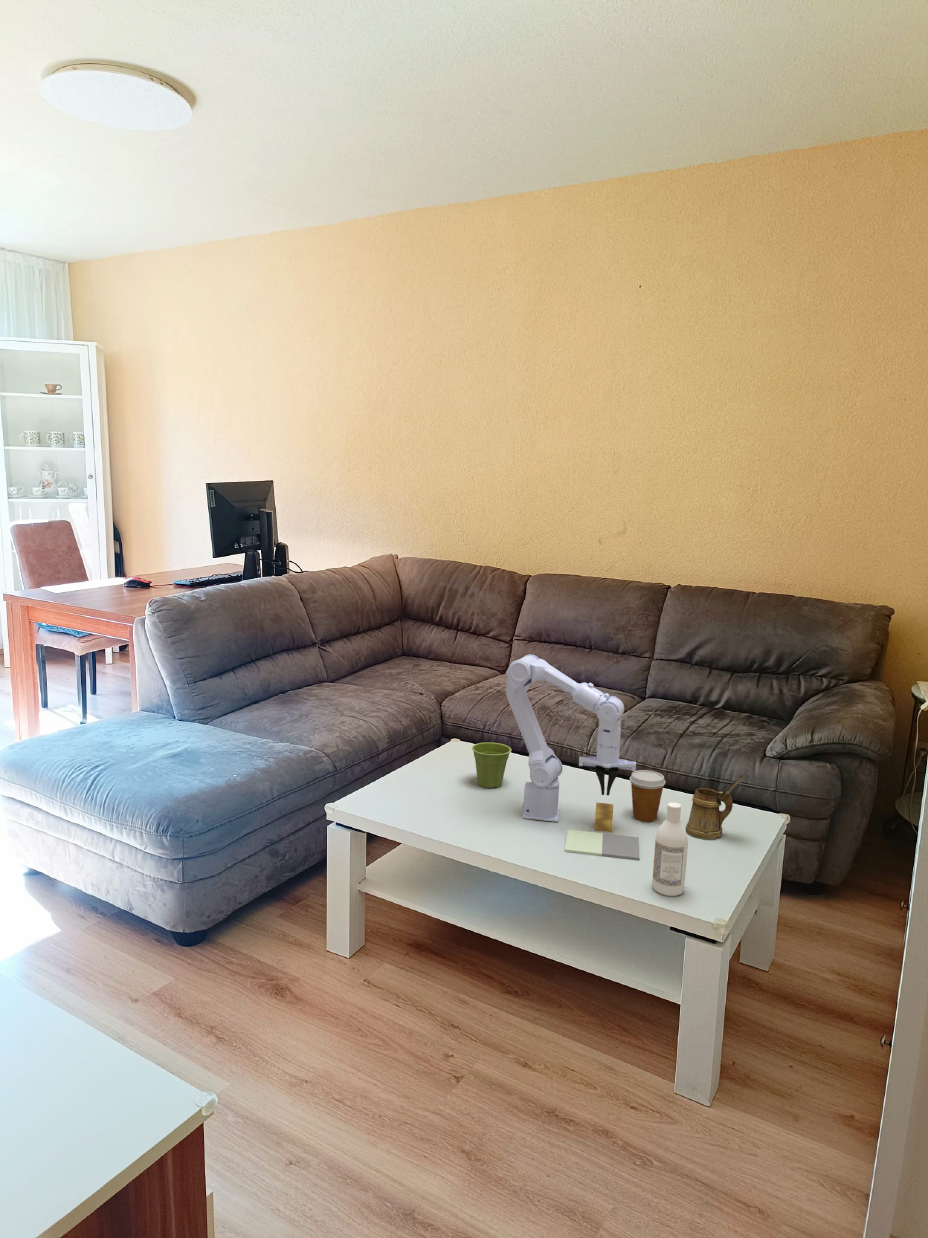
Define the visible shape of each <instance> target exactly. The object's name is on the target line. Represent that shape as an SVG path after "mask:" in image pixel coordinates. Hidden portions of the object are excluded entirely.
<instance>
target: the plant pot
mask: <svg viewBox="0 0 928 1238" xmlns="http://www.w3.org/2000/svg"><path fill="white" fill-rule="evenodd" d="M471 750H472V752H473V757H474V761H475V768H476V778H477V785H479V786H480V787H481V788H488V789H492V788H500V787H501V786H502V784H503V782H504V781H503V780H504V775H505V771H506V767H507V762H508V760H509V755H510V753H511V752H512V748H511V747H510V746H509V745H507V744H503V743H498V742H492V741H491V742H490V741H489V742H479V743H475V744H473V745H472V746H471Z"/></svg>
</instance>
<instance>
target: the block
mask: <svg viewBox="0 0 928 1238" xmlns="http://www.w3.org/2000/svg"><path fill="white" fill-rule="evenodd" d="M613 818H614V803H606V802H595V817H594V829H593V830H594V831H595V830H596V831H598V832H603V833H605V832H606V833H612V832H613V821H614V819H613Z"/></svg>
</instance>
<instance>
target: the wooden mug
mask: <svg viewBox="0 0 928 1238" xmlns="http://www.w3.org/2000/svg"><path fill="white" fill-rule="evenodd" d="M744 778H745V776H744V774H742V775H740V776H739V777H738V778H736V780H735V781H734V782H733V783H732V784H731V785H730V786H729V787H727V788H725V790H723V791H717V790H714V789H711V788H706V787H700V788H696V789H695V791H694V794H693V796H692V797H691V798H692V799H691V800H692V804H691V808H690V809H691V810H690V813H689V818H688V822H686V823H687V824H686V826H685V831H686V834H687V835H689V836H691V837H694V838H696V839H697V838H698V839H702V840H710V841H711V840H716V839H719V838H720V837H722V835H723V827H722V825H723V822H724V820H726V818H728V816H729V815H730V814H731V812H732V810H733V807H734V804H733V798H732V796H731V794H730V793H731V791H732V790H733V789H734V788H735V787H736V786H737V785H738V784H739V783H740V782H741V781H742V780H743V779H744ZM722 803H723V804H724V805H725V807H724V810H720V806H722Z"/></svg>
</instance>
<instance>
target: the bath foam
mask: <svg viewBox="0 0 928 1238" xmlns="http://www.w3.org/2000/svg"><path fill="white" fill-rule="evenodd" d="M681 812H682V804H680V803H679V802H668V803H667V806H666V819H665V820H664V821H663V822H662V824H661V825H660V826H659V827H658V829H657V831H656V834H655V841H654V854H653V855H654V856H653V870H652V881H651V882H652V883H651V885H652V886H651V887H652V888H653V890H654V891H655V892H657V893H658V894H661V895H663V896H667V897H675V896H679V895H682V894H683V893H684V890H685V882H686V872H687V871H686V869H687V858H688V844H689V840H688V833H687V832H686V828H685V827H684V826H683V824H682V821H681V815H682V813H681Z"/></svg>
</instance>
